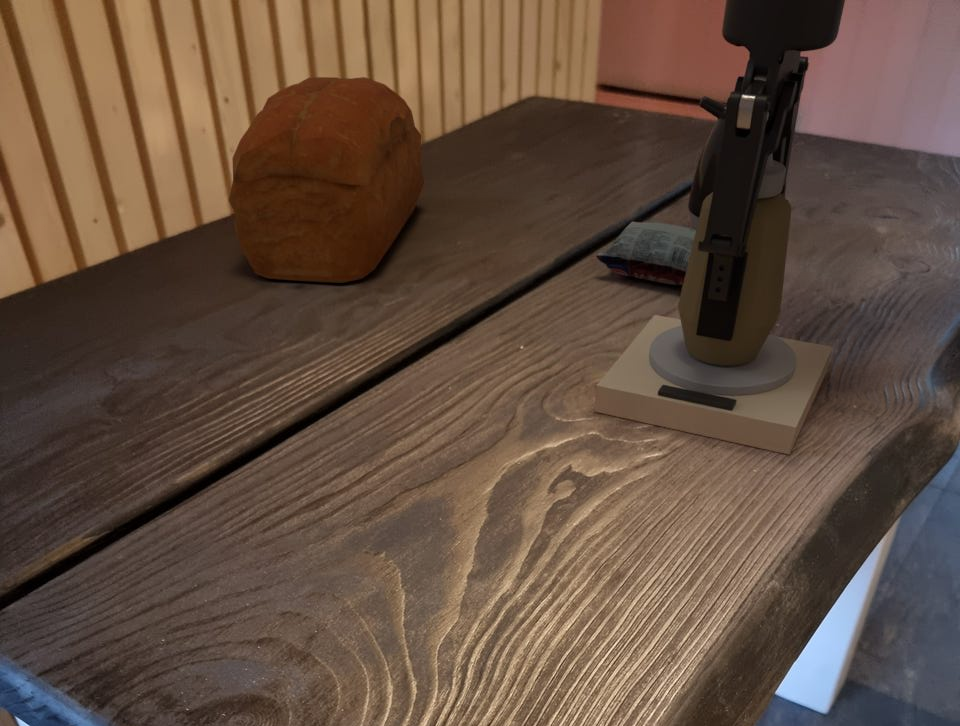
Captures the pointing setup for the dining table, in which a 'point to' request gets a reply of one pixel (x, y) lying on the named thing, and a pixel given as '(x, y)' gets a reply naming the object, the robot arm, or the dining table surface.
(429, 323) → the dining table surface
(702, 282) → the squeeze bottle
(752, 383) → the scale
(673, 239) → the packaged food
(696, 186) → the pump dispenser
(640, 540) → the dining table surface
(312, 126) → the bread
